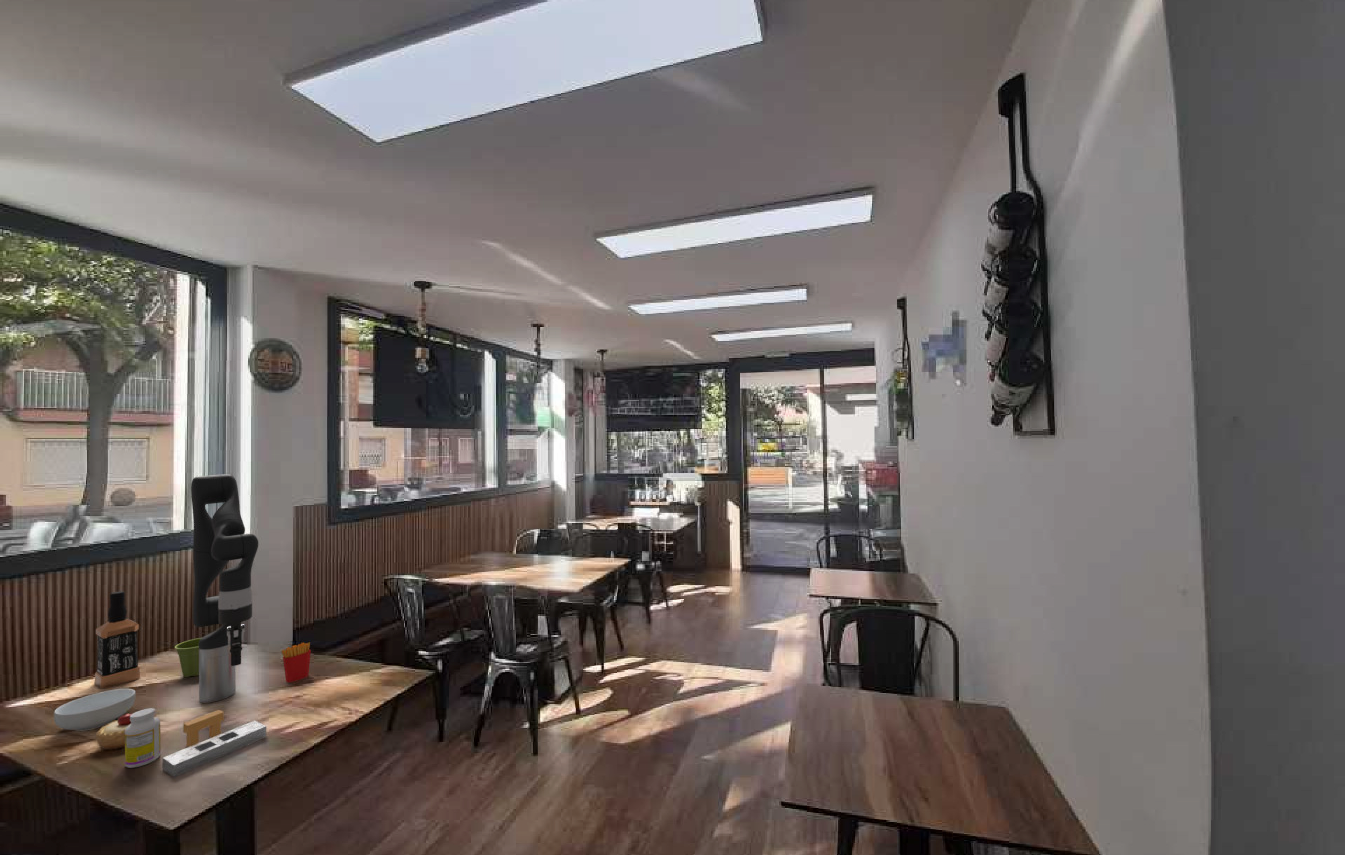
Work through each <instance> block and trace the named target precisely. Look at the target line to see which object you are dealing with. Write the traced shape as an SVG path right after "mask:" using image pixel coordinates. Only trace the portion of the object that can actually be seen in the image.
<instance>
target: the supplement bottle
mask: <svg viewBox="0 0 1345 855" xmlns="http://www.w3.org/2000/svg"><path fill="white" fill-rule="evenodd" d="M132 713H133V714H132V715H131V716H130V721H131V724H130V725H129V726H128V727H127V728H126V729H125V747H124V760H125V761H124V762H125V767H126V768H130V769H133V768H139V767H143V766H145V765H147V764H151V763H152V762H154V761H156V760H157V759H159V758H160V755H161V754H162V753H161V751H162V750H161V748H162V746H161V719H160V718H159V717H157V716H156V709H155V708H154V707H153V708H150V707H149V708H145V709H141V710H138V711H136V712H132ZM154 715H155V716H156V717H154Z"/></svg>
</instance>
